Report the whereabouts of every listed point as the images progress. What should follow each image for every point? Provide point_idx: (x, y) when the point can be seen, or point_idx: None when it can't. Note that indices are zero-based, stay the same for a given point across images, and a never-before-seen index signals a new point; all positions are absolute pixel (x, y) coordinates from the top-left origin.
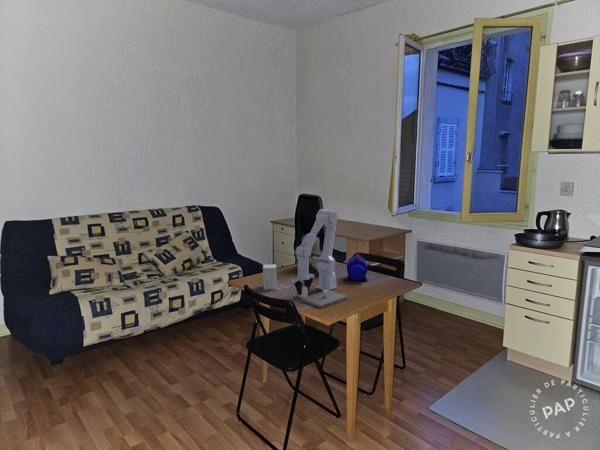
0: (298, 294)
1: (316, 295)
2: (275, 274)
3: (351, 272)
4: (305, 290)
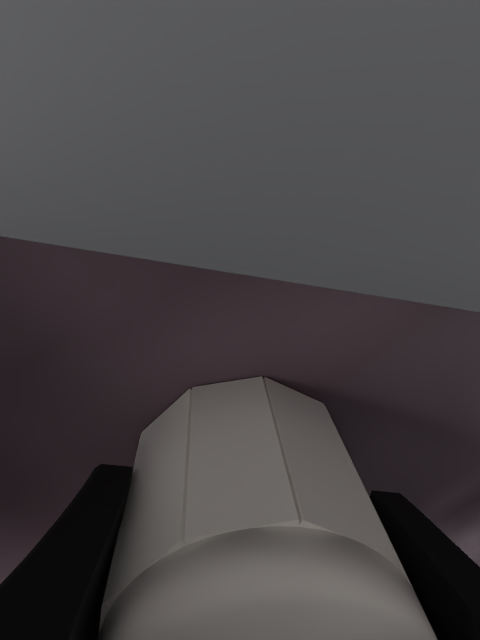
0: None
1: (148, 105)
2: None
3: None
4: (334, 520)
